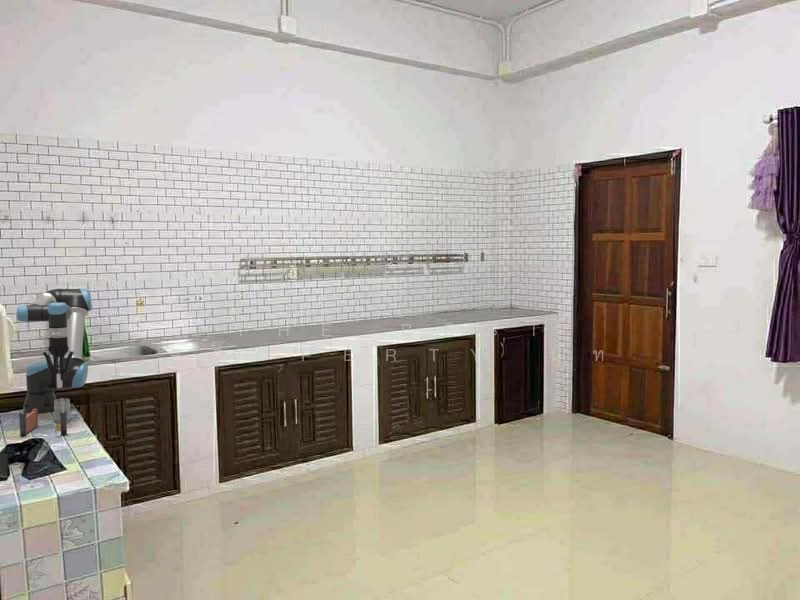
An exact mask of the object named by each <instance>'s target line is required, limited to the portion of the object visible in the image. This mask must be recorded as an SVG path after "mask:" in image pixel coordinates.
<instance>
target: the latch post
mask: <svg viewBox="0 0 800 600" xmlns="http://www.w3.org/2000/svg"><path fill="white" fill-rule="evenodd" d="M67 423H68V422H67V412H66V411H61V412H60V423H56V422H55V432H60V436H61V437H64V436H65V437H66V436H67V435H68V424H67Z"/></svg>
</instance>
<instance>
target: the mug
mask: <svg viewBox="0 0 800 600" xmlns="http://www.w3.org/2000/svg"><path fill="white" fill-rule="evenodd" d="M71 407H72V406H71V401H70V399H69V398H63V397H62V398H58V399H57V398H56V400H55V401H54V412H53V413H54V415H53V421H54V423H55V424H56V423H60V412H61V411H66V412H67V423H68V422H71V421H72V418H73V416H72V414H71Z"/></svg>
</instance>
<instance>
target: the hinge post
mask: <svg viewBox="0 0 800 600" xmlns="http://www.w3.org/2000/svg"><path fill="white" fill-rule="evenodd" d="M26 415H27V413H26V412H24V411H20V413H18V417H19V437H20V438H25V437H27V434H28V433H26Z"/></svg>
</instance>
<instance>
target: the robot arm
mask: <svg viewBox="0 0 800 600" xmlns="http://www.w3.org/2000/svg"><path fill="white" fill-rule="evenodd" d="M92 310H93V303H92V297H91V293H90V290H89V289H87V288H55V289H49V290H46V291H44V292H42V293H40V294H39V295H37V297H36V298H35V300H34V301H33V302H31V303H30V304H28V305H26V304H24V305H18V307H17V309H16V318H17V321H18V322H23V323H28V322H31V323H32V322H48V336H49V338H48V345H49V346H48V348H47V350H46V351H44V352H42V354H43V356H44V358H45V361H41V362H36V363H33V364H30V365H28V366H27V367H26V373H25V376H26V379H25V380H26V398H25V400H24V403H23V406H22V407H23V408H22V410H23V411H22V412H25V413H26V414H29V413H31V412H32V410H33V409H37V411H38V414H41V413H49V412H53V411H54V401H55V400H57V397H56V394H55V391H54V390H55V389H64V388H66V389H67V388H73V389H74V388H81V387H83V386H84V385H85V383H86V382H87V378H88V370H89V365H88V363H85V362H86V361H85V360H84V358H83V344H84V332H85V318H86V317H87V316H88V314H89V312H90V311H92ZM51 356H52V357H53V358H51ZM52 359H53V361H52Z"/></svg>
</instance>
